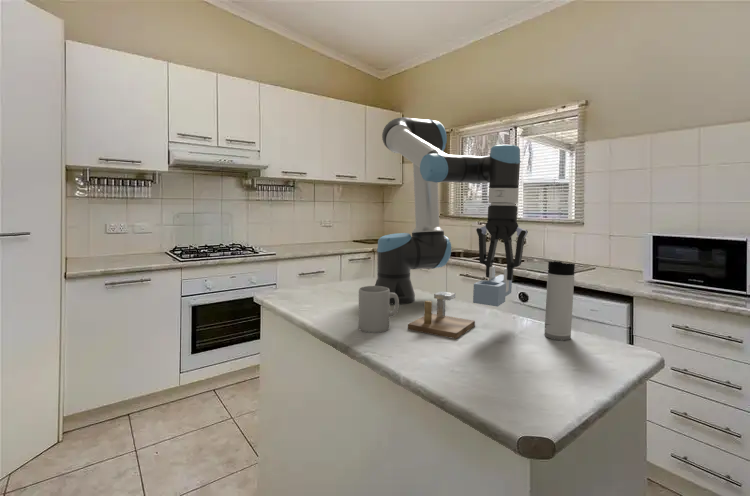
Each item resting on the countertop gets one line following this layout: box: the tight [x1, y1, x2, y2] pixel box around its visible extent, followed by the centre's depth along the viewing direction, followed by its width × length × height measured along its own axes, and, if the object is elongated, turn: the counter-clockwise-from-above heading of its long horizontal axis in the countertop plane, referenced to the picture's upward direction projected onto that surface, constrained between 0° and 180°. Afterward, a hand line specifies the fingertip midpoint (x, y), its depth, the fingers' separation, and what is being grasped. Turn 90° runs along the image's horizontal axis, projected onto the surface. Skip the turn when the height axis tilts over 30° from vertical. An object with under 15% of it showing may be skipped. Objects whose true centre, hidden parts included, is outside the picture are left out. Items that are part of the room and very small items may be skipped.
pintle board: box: [407, 300, 476, 340], centre depth 113 cm, size 14×14×8 cm
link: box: [472, 274, 513, 307], centre depth 111 cm, size 18×6×5 cm, turn 147°
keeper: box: [433, 291, 456, 318], centre depth 116 cm, size 5×5×7 cm
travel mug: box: [543, 260, 576, 341], centre depth 105 cm, size 6×7×20 cm
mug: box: [357, 285, 400, 334], centre depth 113 cm, size 12×8×11 cm
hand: (498, 290), depth 113 cm, fingers closed on link, 3 cm apart
